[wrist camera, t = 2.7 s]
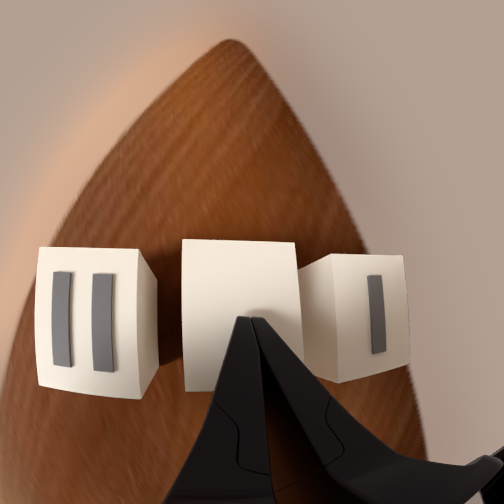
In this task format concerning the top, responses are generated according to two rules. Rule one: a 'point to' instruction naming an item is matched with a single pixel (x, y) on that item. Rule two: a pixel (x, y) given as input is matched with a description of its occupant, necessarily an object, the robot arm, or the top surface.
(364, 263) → the marked block one
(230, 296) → the plain block
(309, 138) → the top surface
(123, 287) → the marked block two
